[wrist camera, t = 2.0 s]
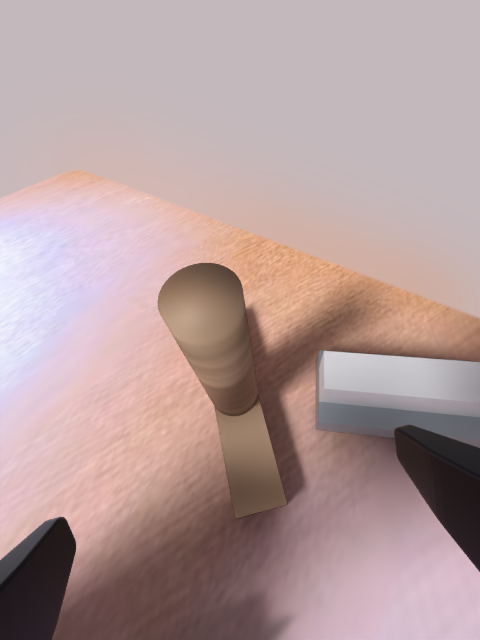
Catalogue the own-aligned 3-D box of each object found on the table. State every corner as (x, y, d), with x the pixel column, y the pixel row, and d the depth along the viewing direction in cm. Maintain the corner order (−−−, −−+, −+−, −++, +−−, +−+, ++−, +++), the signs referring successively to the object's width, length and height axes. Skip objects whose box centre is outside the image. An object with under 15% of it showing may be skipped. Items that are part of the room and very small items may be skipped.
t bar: (288, 504, 18) (304, 496, 8) (237, 518, 18) (179, 530, 7) (238, 318, 26) (210, 179, 15) (201, 327, 26) (147, 193, 15)
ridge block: (460, 373, 22) (499, 343, 18) (479, 447, 19) (530, 432, 15) (316, 361, 23) (323, 332, 19) (315, 429, 20) (324, 411, 17)
